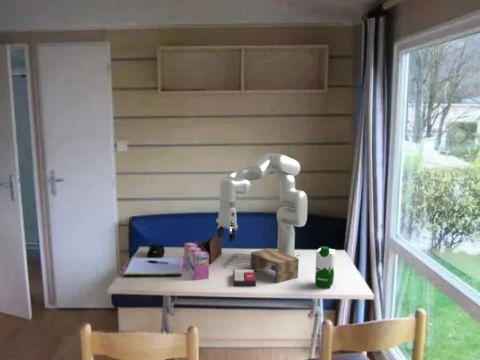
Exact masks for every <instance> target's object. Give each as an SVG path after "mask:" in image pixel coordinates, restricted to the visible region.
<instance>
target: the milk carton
mask: <svg viewBox="0 0 480 360" xmlns="http://www.w3.org/2000/svg"><path fill="white" fill-rule="evenodd" d="M335 263H336V249H335V248H334V249H333V248H330V247H329V246H325V245H324V246H320V247H319V248H318V249H317V250H316V254H315V272H314V273H315V274H314V275H315V277H314V279H315V280H314V281H315V282H314V283H315V287H316V288H317V287H318V288H325V289H329V290H330V288H331V287H332V286H331V285H334V278H335V277H334V276H335Z"/></svg>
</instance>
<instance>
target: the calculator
mask: <svg viewBox="0 0 480 360" xmlns="http://www.w3.org/2000/svg"><path fill="white" fill-rule="evenodd" d="M232 272H233V273H232V276H233V277H232V278H233V280H232V281H233V283H232V284H233V287H240V288H241V287H247V288H248V287H250V288H251V287H255V288H256V285H257V281H256V273H255V272H256V271H254V270H250V269H240V268H239V269H233V271H232Z"/></svg>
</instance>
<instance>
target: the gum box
mask: <svg viewBox="0 0 480 360" xmlns="http://www.w3.org/2000/svg"><path fill="white" fill-rule="evenodd" d="M183 244H184V246H183V247H184V248H183V249H184V250H183V252H184V253H183V267H184V268H185V269H186V271H187V272H188V274H189V275H190V276H191V278H192V279H193V280H194V281H202V280H209V277H210V275H209V274H210V270H209V269H210V264H209V253H208V252H207V251H206V250H205V249H204V248H203V247H202V246H201V245H200V244H201V243H199V242H198V241H194V242H183Z"/></svg>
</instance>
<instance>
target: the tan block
mask: <svg viewBox="0 0 480 360" xmlns="http://www.w3.org/2000/svg"><path fill="white" fill-rule="evenodd" d="M268 268H271V269H272V270H275V272H274V273H275V276H274V277H275V279H274V280H275V281H274V282H275V284H279V283H283V282H287V281H291V280H296V279H297V278H299V258H298V257H293V256H290V255H287V254H285V253H282V252H280V251H278V249H274V248H272V247H269V248H265V249H261V250H260V249H259V250H254V251H251V252H250V269H249V270H254V271H255V272H256V271H259V270H264V269H268Z"/></svg>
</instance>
